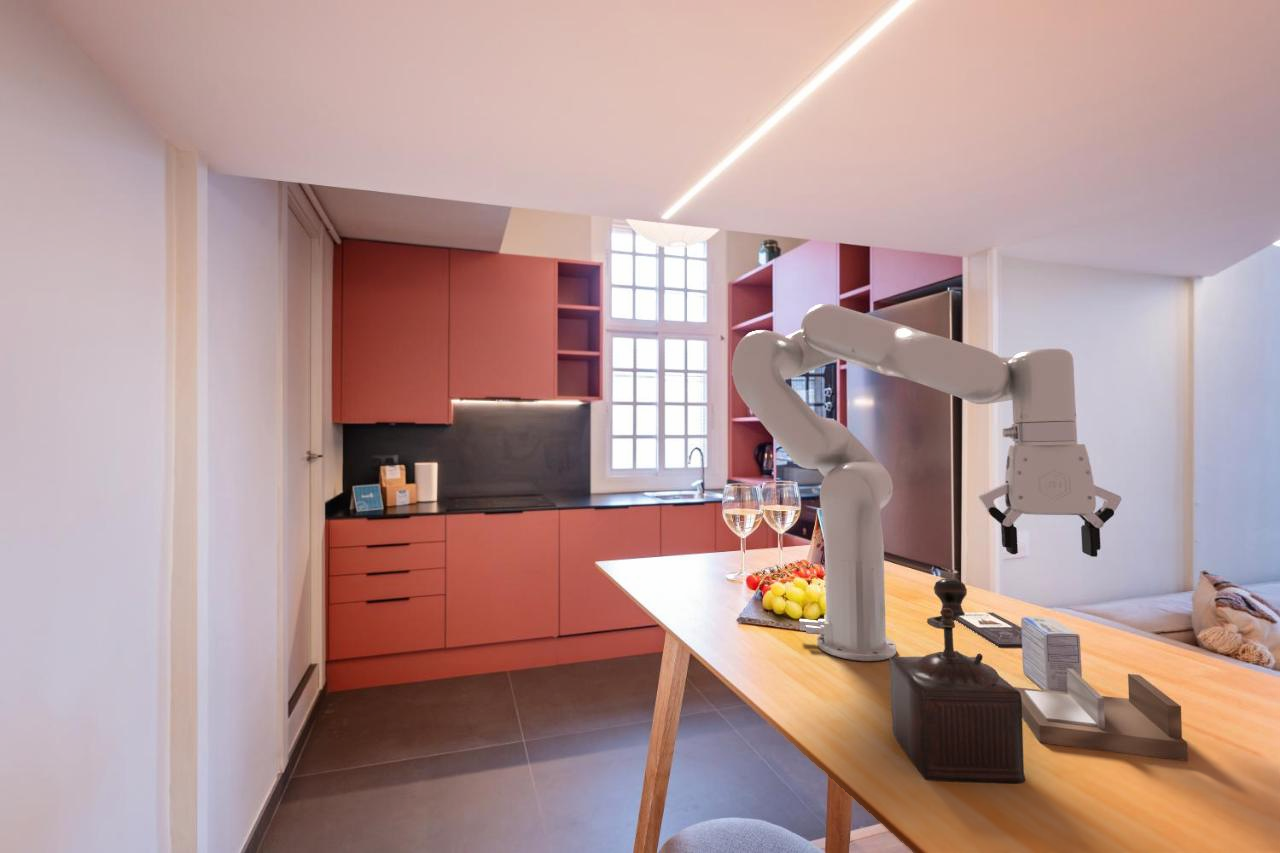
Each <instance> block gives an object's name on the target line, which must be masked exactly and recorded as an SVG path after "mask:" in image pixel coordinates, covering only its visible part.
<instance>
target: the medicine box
mask: <svg viewBox="0 0 1280 853" xmlns="http://www.w3.org/2000/svg"><path fill="white" fill-rule="evenodd" d="M1020 627H1021V631H1022V647H1021V649H1022V652H1021V654H1022V672H1023V674H1024V675H1025V676H1026V677H1027V678H1029V679H1030V680H1031V681H1032V682H1033V683H1035V684H1036V686H1038V687H1039V688H1040V690H1048V691H1058V692H1068V687H1067V668H1069V669H1073V670H1074V671H1075V672H1076V673H1077V674H1078V675H1079V676H1081V677H1082V678H1083V675H1082V674H1083V673H1082V672H1083V670H1082V654H1081V653H1082V652H1081V636H1080V634H1079V633H1077V632H1075V631H1074V630H1073V629H1071V628H1069V627H1068V626H1066V625H1064V624H1062V623H1061V622H1059V621H1058V620H1056V619H1054V618H1052V617H1041V616H1039V617H1037V616H1036V617H1035V616H1030V617H1029V616H1028V617H1026V616H1025V617H1021V624H1020Z"/></svg>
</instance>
